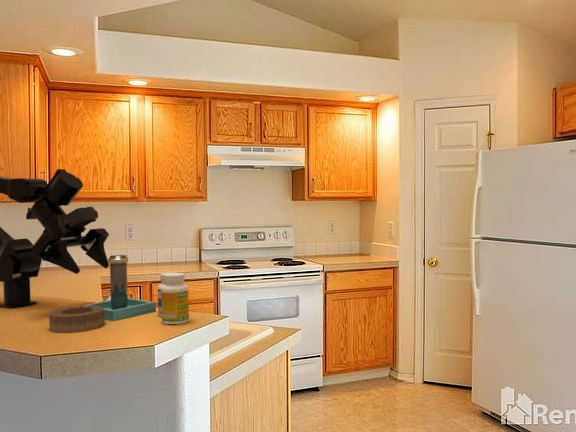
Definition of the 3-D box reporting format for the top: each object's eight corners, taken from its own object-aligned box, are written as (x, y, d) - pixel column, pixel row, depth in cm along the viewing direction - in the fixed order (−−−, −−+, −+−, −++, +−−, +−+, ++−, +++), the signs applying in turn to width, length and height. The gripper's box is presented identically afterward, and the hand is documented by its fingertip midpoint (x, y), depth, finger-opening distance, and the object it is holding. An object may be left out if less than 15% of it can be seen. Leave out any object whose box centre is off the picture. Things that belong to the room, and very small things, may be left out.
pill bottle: (186, 312, 115) (185, 271, 115) (179, 317, 110) (178, 275, 110) (162, 311, 116) (161, 271, 115) (154, 317, 111) (153, 275, 110)
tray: (82, 314, 114) (82, 305, 114) (125, 305, 123) (125, 297, 123) (113, 320, 108) (113, 311, 108) (155, 311, 117) (155, 302, 116)
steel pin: (105, 311, 114) (104, 256, 113) (116, 307, 118) (115, 254, 118) (122, 312, 113) (121, 257, 112) (133, 308, 117) (131, 254, 116)
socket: (39, 327, 103) (39, 312, 103) (85, 317, 111) (85, 303, 111) (68, 335, 97) (67, 318, 97) (114, 324, 105) (114, 309, 105)
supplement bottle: (180, 326, 103) (179, 276, 102) (156, 324, 104) (155, 275, 104) (193, 319, 108) (192, 272, 107) (170, 318, 110) (169, 271, 109)
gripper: (40, 195, 110) (82, 249, 107) (101, 195, 128) (140, 241, 124) (13, 231, 113) (53, 285, 110) (77, 226, 131) (113, 273, 127)
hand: (93, 269), depth 118 cm, fingers open, 9 cm apart
